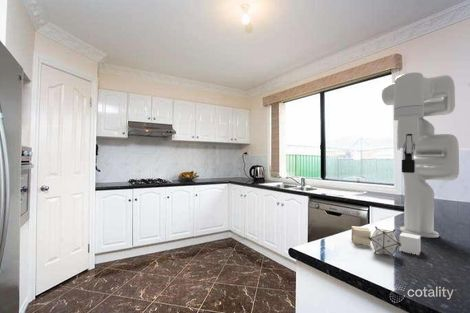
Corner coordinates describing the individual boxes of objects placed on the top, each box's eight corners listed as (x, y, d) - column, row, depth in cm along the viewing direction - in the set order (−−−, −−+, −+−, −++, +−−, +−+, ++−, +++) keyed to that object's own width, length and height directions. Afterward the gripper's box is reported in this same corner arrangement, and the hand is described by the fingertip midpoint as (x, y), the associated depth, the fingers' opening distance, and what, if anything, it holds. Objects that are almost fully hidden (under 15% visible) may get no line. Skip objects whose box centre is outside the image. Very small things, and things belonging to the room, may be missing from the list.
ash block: (351, 239, 85) (351, 226, 85) (366, 241, 84) (367, 227, 84) (354, 244, 80) (354, 229, 80) (370, 246, 79) (370, 231, 79)
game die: (387, 269, 69) (385, 248, 65) (363, 250, 77) (360, 229, 72) (409, 253, 71) (409, 231, 66) (383, 235, 78) (382, 215, 74)
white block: (401, 247, 79) (401, 232, 79) (420, 251, 75) (420, 235, 76) (399, 251, 75) (399, 235, 75) (419, 255, 72) (419, 239, 72)
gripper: (393, 118, 81) (393, 171, 81) (394, 111, 69) (393, 173, 69) (421, 116, 77) (420, 171, 77) (426, 108, 65) (426, 174, 65)
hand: (408, 172), depth 73 cm, fingers closed
